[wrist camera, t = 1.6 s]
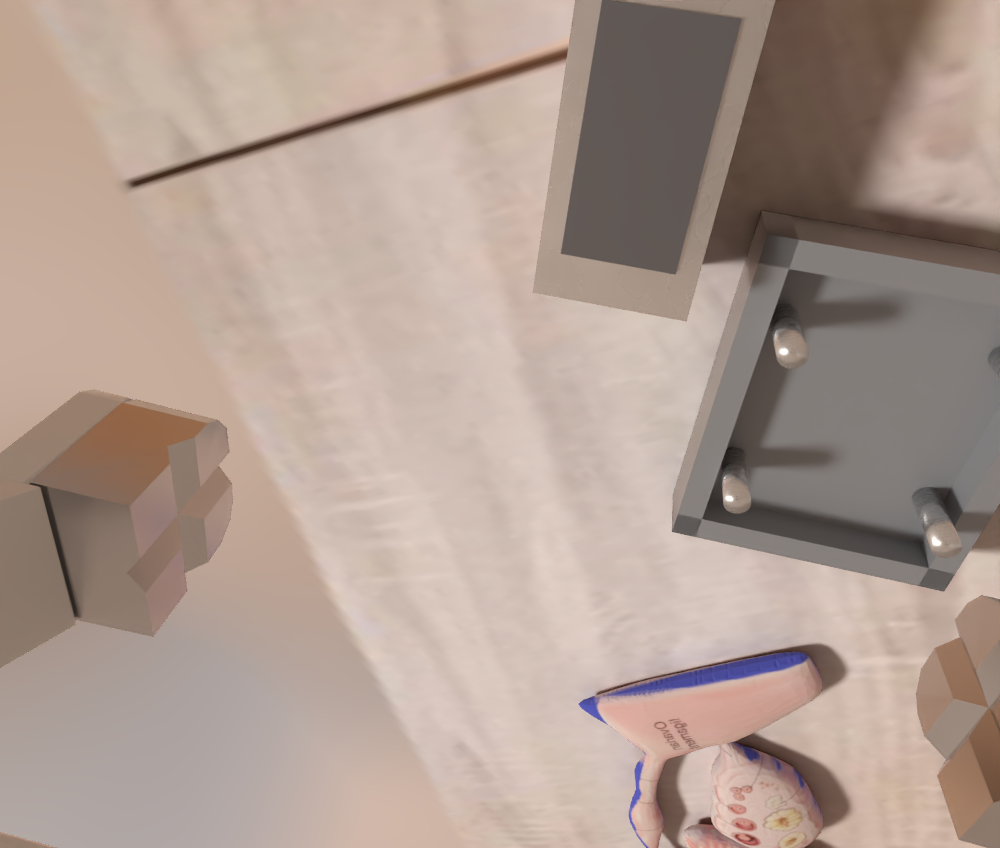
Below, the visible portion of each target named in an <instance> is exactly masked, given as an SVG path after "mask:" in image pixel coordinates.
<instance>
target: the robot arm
mask: <svg viewBox="0 0 1000 848" xmlns="http://www.w3.org/2000/svg"><path fill="white" fill-rule="evenodd" d="M228 453H229V444H228V436H227V428H226V427H225V426H224V425H223V424H222V423H221V422H220V421H218V420H215V419H211V418H207V417H203V416H199V415H196V414H192V413H187V412H184V411H180V410H176V409H172V408H168V407H164V406H160V405H156V404H152V403H148V402H144V401H140V400H132V399H129V398H126V397H122V396H118V395H114V394H110V393H105V392H101V391H97V390H89V391H83V392H79V393H77V394H76V395H75V396H74V397H72V398H71V399H70V400H69V401H67V402H66V403H65V404H63V405H62V406H61V407H59V408H58V409H57V410H56V411H54V412H53V413H52V414H51V415H49V416H48V417H47V418H45V419H44V420H43V421H41V422H40V423H39V424H37V425H36V426H35V427H33V428H32V429H31V430H30V431H28V432H27V433H26V434H24V435H23V436H22V437H21V438H19V439H18V440H17V441H15V442H14V443H13V444H12V445H10V446H9V447H8V448H7V449H5V450H4V451H2V452H1V453H0V668H1V667H2V666H4V665H6V664H8V663H9V662H11V661H13V660H15V659H16V658H18V657H20V656H22V655H23V654H25V653H27V652H29V651H30V650H32V649H34V648H36V647H37V646H39V645H40V644H42V643H44V642H46V641H48V640H49V639H51V638H53V637H55V636H56V635H58V634H60V633H62V632H63V631H65V630H67V629H69V628H70V627H72V626H74V625H75V624H76V620H80V621H84V622H89V623H94V624H98V625H103V626H107V627H111V628H116V629H121V630H125V631H130V632H134V633H139V634H143V635H148V636H152V637H154V635H155V634H156V633H157V631H158V630H159V629H160V627H161V626H162V624H163V623H164V622H165V620H166V619H167V618H168V616H169V615H170V614H171V612H172V611H173V610H174V608H175V607H176V605H177V604H178V603H179V601H180V600H181V599H182V597H183V596H184V594H185V593H186V592H187V585H186V577H185V573H186V572H187V571H190V570H192V569H194V568H196V567H198V566H200V565H203V564H205V563H207V562H208V561H209V560H210V559H211V557H212V555H213V554H214V553H215V551H216V550H217V548H218V547H219V546H220V544H221V542H222V540H223V537H224V535H225V532H226V529H227V527H228V524H229V522H230V517H231V511H232V504H233V493H232V483H231V482H230V480H229V479H228V477H227V476H226V475H225V473H224V472H223V471H222V470H221V468H220V467H219V466H218V465H219V464H220V463H221V462H222V461H223V459H224V458H225V457H226V456H227V454H228ZM955 622H956V625H957V629H958V633H959V636H960V638H957V639H955V640H953V641H950V642H948V643H946V644H943V645H941V646H939V647H936V648H935V649H934V650H933V652H932V653H931V655H930V656H929V658H928V659H927V661H926V663H925V664H924V666H923V667H922V669H921V672H920V677H919V682H918V687H917V692H916V698H917V711H918V717H919V720H920V723H921V726H922V730H923V733H924V736H925V737H926V738H927V739H928V740H929V741H930V743H931V744H932V745H933V746H934V747H935V748H936V749H937V750H938V751H939V752H940V753H941V754H942V755H943V757H944V758H945V759H946V761H945V762H944V764H943V766H942V768H941V770H940V772H939V774H938V775H937V776H938V779H939V782H940V785H941V788H942V791H943V794H944V797H945V800H946V803H947V806H948V809H949V812H950V815H951V818H952V821H953V824H954V827H955V830H956V833H957V836H958V839H959V840H962V841H965V842H969V843H972V844H976V845H980V846H983V847H987V848H1000V599H996V598H992V597H987V596H983V595H981V596H979V597H978V598H976V599H974V600H972V601H971V602H969V603H967V605H966V606H965V607H964V609H963V610H962V611H961V613H960V614H959V615H958V617H957V618H956V619H955ZM0 848H56V847H53V846H49V845H45V844H42V843H38V842H35V841H31V840H27V839H24V838H20V837H16V836H13V835H9V834H5V833H2V832H0Z"/></svg>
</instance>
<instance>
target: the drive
mask: <svg viewBox="0 0 1000 848" xmlns="http://www.w3.org/2000/svg"><path fill="white" fill-rule="evenodd" d="M774 4H775V0H575V6H574V13H573V20H572V27H571V34H570V40H569V47H568V54H567V61H566V68H565V75H564V82H563V89H562V96H561V102H560V109H559V116H558V123H557V130H556V137H555V144H554V151H553V158H552V165H551V171H550V178H549V185H548V192H547V199H546V206H545V213H544V220H543V227H542V233H541V240H540V247H539V254H538V261H537V268H536V275H535V282H534V289H533V293H539V294H544V295H549V296H555V297H560V298H565V299H571V300H576V301H581V302H586V303H592V304H597V305H602V306H608V307H613V308H618V309H624V310H629V311H634V312H640V313H645V314H650V315H656V316H661V317H666V318H671V319H677V320H682V321H687V317H688V314H689V310H690V307H691V303H692V299H693V296H694V292H695V288H696V285H697V281H698V278H699V274H700V270H701V267H702V263H703V260H704V256H705V252H706V249H707V245H708V242H709V238H710V234H711V231H712V227H713V224H714V220H715V216H716V213H717V209H718V206H719V202H720V198H721V195H722V191H723V188H724V184H725V180H726V177H727V173H728V170H729V166H730V162H731V159H732V155H733V152H734V148H735V144H736V141H737V137H738V134H739V130H740V126H741V123H742V119H743V115H744V112H745V108H746V105H747V101H748V97H749V94H750V90H751V87H752V83H753V79H754V76H755V72H756V69H757V65H758V61H759V58H760V54H761V51H762V47H763V43H764V40H765V36H766V33H767V29H768V25H769V22H770V18H771V15H772V11H773V7H774Z"/></svg>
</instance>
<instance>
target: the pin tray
mask: <svg viewBox="0 0 1000 848" xmlns="http://www.w3.org/2000/svg"><path fill="white" fill-rule="evenodd" d="M999 504H1000V251H996V250H990V249H984V248H978V247H973V246H967V245H961V244H955V243H949V242H943V241H937V240H931V239H926V238H920V237H914V236H908V235H902V234H896V233H890V232H884V231H879V230H873V229H867V228H861V227H855V226H849V225H843V224H838V223H832V222H826V221H820V220H814V219H808V218H802V217H796V216H791V215H785V214H779V213H773V212H767V211H761V213H760V216H759V220H758V223H757V226H756V229H755V233H754V236H753V239H752V242H751V245H750V249H749V252H748V255H747V258H746V262H745V265H744V268H743V271H742V274H741V278H740V281H739V284H738V287H737V291H736V294H735V297H734V300H733V303H732V307H731V310H730V313H729V316H728V319H727V323H726V326H725V329H724V332H723V336H722V339H721V342H720V345H719V348H718V352H717V355H716V358H715V361H714V365H713V368H712V371H711V374H710V377H709V381H708V384H707V387H706V390H705V394H704V397H703V400H702V403H701V406H700V410H699V413H698V416H697V419H696V423H695V426H694V429H693V432H692V435H691V439H690V442H689V445H688V448H687V451H686V455H685V458H684V461H683V464H682V468H681V471H680V474H679V477H678V480H677V484H676V487H675V490H674V493H673V512H672V532H675V533H680V534H685V535H689V536H694V537H698V538H703V539H707V540H712V541H716V542H721V543H725V544H730V545H735V546H739V547H744V548H748V549H753V550H757V551H762V552H766V553H771V554H776V555H780V556H785V557H789V558H794V559H798V560H803V561H807V562H812V563H817V564H821V565H826V566H830V567H835V568H839V569H844V570H848V571H853V572H858V573H862V574H867V575H871V576H876V577H880V578H885V579H889V580H894V581H899V582H903V583H908V584H912V585H917V586H921V587H926V588H930V589H935V590H940V591H945V589H946V587H947V586H948V584H949V583H950V581H951V580H952V578H953V576H954V575H955V573H956V572H957V570H958V569H959V567H960V565H961V564H962V562H963V561H964V559H965V558H966V556H967V554H968V553H969V551H970V550H971V548H972V547H973V545H974V544H975V542H976V540H977V539H978V537H979V536H980V534H981V533H982V531H983V529H984V528H985V526H986V525H987V523H988V522H989V520H990V518H991V517H992V515H993V514H994V512H995V511H996V509H997V507H998V506H999Z"/></svg>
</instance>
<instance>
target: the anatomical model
mask: <svg viewBox="0 0 1000 848" xmlns="http://www.w3.org/2000/svg"><path fill="white" fill-rule="evenodd" d="M822 685H823V683H822V680H821V676H820V674H819V672H818V670H817V668H816V666H815V664H814V663H813V661H812V660H811V658H810V657H809V656H808V655H806V654H805V653H802V652H785V653H775V654H770V655H764V656H759V657H754V658H748V659H743V660H738V661H733V662H729V663H723V664H718V665H714V666H709V667H704V668H699V669H694V670H689V671H686V672H681V673H677V674H672V675H667V676H663V677H658V678H653V679H649V680H644V681H641V682H637V683H634V684H631V685H628V686H624V687H621V688H617V689H614V690H611V691H608V692H605V693H602V694H599V695H596V696H593V697H590V698H588V699H585V700H583V701H582V702H580V703H579V706H580V707H581V708H582V709H583V710H585V711H586V712H588V713H589V714H591V715H592V716H594V717H595V718H597V719H599V720H600V721H602V722H604V723H606V724H607V725H609V726H611V727H612V728H614V729H615V730H616V731H618V732H619V733H620V734H621V735H623V736H624V737H625V738H626V739H627V740H628V741H629V742H631V743H632V744H633V745H635V746H636V747H638V748H639V749H641V750H642V751H643V752H644V753H645V755H644V757H643V758H642V759H641V760H640V761H639V762H638V763H637V765H636V768H635V780H636V791H635V794H634V796H633V798H632V802H631V806H630V810H629V819H630V822H631V824H632V826H633V828H634V830H635V832H636V834H637V836H638V838H639V839H640V840H641V842H642V843H643V844H644V846H645V847H646V848H658V846H659V840H660V836H661V833H662V831H663V827H664V819H663V816H662V813H661V811H660V808H659V805H658V802H657V800H656V790H657V784H658V780H659V778H660V775H661V772H662V770H663V768H664V764H665V762H666V761H667V759H670V758H673V757H676V756H680V755H684V754H687V753H690V752H693V751H696V750H699V749H702V748H705V747H709V746H714V745H719V746H720V754H719V755H718V757H717V758H716V759H715V761H714V763H713V765H712V770H711V774H712V781H713V788H712V800H713V803H712V806H711V811H710V816H711V820H712V823H713V825H706V824H698V825H692V826H690V827H688V828H687V829H685V830H684V832H683V836H684V839H685V842H686V845H687V847H688V848H804V847H806V846H807V845H809V844H811V843H812V842H813V841H814V840H815V839H816V838H817V837H818V836H819V834H820V833H821V831H822V829H823V816H822V812H821V809H820V807H819V805H818V803H817V801H816V799H815V797H814V795H813V794H812V792H811V790H810V789H809V787H808V785H807V784H806V782H805V781H804V779H803V778H802V776H801V775H800V774H799V773H798V772H797V771H796V770H795V769H794V768H793V767H792V766H790V765H789V764H787V763H786V762H783V761H781V760H779V759H777V758H775V757H773V756H771V755H768V754H766V753H763V752H761V751H758V750H756V749H752V748H749V747H745V746H742V745H740V744H737V743H735V742H734V741H737V740H739V739H741V738H744V737H746V736H748V735H750V734H753V733H755V732H756V731H758V730H760V729H762V728H764V727H766V726H768V725H770V724H772V723H773V722H775V721H777V720H779V719H781V718H783V717H784V716H786V715H788V714H790V713H791V712H793V711H795V710H797V709H798V708H800V707H802V706H804V705H805V704H807V703H809V702H811V701H812V700H813V699H814V698H816V697H817V696H818V695H819V694H820V692H821V690H822Z"/></svg>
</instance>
